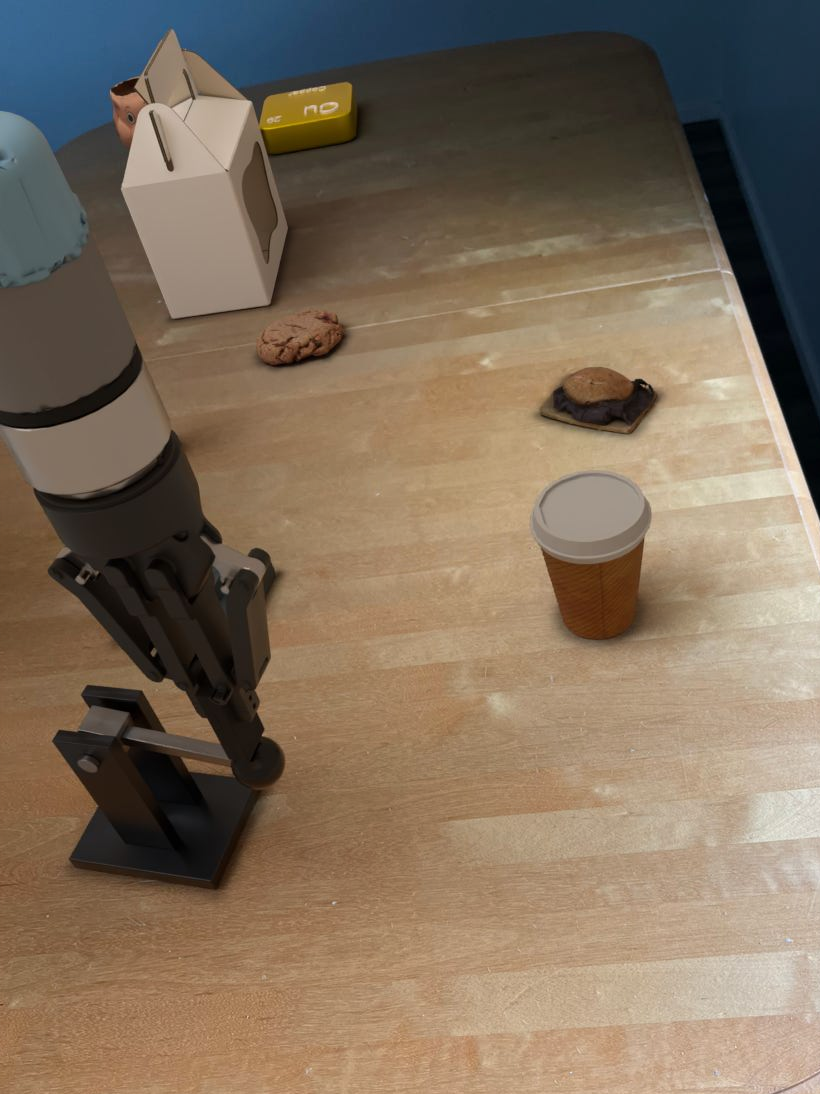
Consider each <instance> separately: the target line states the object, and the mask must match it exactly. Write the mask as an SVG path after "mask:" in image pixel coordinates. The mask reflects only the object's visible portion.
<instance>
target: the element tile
mask: <svg viewBox="0 0 820 1094" xmlns="http://www.w3.org/2000/svg"><path fill="white" fill-rule="evenodd" d="M353 87H354V86H353V85H352V83H350V82H349V81H344V82H337V83H332V84H331V83H330V84H327V85H321V86H315V87H309V88H303V89H300V90H293V91H287V92H281V93H276V94H271V95H268V96H267V97H266V98H265V99H264V101H263V106H262V110H261V115H260V120H259V123H258V124H259V128H260V131H261V135H262V138H263V142H264V145H265V149H266V152H267V155H272V156H273V155H274V156H276V155H282V154H288V153H294V152H300V151H305V150H310V149H311V150H312V149H316V148H322V147H328V146H334V145H339V144H344V143H348V142H351V141H352V140H354V139H355V138H356V136H357V128H358V127H357V123H358V106H357V101H356V97H355V91H354V88H353Z"/></svg>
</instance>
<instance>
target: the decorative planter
mask: <svg viewBox="0 0 820 1094" xmlns="http://www.w3.org/2000/svg"><path fill="white" fill-rule="evenodd" d="M140 76H141V75H139V76H135V77H131V78H128V79H126V80H123V81H121V82H119V83H117V84H115V85H114V86H112V87H110V90H109V98H110V101H111V104H112V106H113V110H112V120H113V124H114V129H115V130H116V134H117V136H118V138H119V139H120V141H121V143H122V144H123V145H124V147H126V148H127V149H128V150H129V151H130V148H131V144H132V139H133V135H134V130H135V126H136V122H137V117H138V114H139V112H140V111H141V109H142V108H143V107H145V106H147V104H146V103H145V101H144V100H143V99H142V98H141V97H140V96H139V94H138V93H137V92H136V91H135V90H134V89H133V88H134V86H135V85H136V83H137V81H138V79H139V78H140Z"/></svg>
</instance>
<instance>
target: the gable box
mask: <svg viewBox="0 0 820 1094" xmlns="http://www.w3.org/2000/svg"><path fill="white" fill-rule="evenodd" d="M139 76H140V78H139V79H138V81H137V83H136V85H135V86H134V88H133V89H134V90H135V91H136V92H137V93H138V94H139V96H140V97H141V98H142V99H143V100H144V101H145V103H146V104H147V106H145V107H143V108H142V109H141V111H140V112H139V114H138V117H137V122H136V126H135V130H134V135H133V139H132V144H131V148H130V150H129V153H128V157H127V162H126V167H125V171H124V175H123V176H124V177H123V180H122V183H121V185H120V190H121V193H122V197H123V199H124V201H125V203H126V206H127V208H128V211H129V214H130V216H131V219H132V221H133V224H134V226H135V229H136V231H137V234H138V236H139V240H140V242H141V244H142V247H143V249H144V252H145V254H146V257H147V259H148V261H149V264H150V267H151V269H152V272H153V275H154V277H155V280H156V282H157V284H158V288H159V289H160V292H161V295H162V297H163V299H164V303H165V306H166V308H167V310H168V313H169V315H170V318H171V319H173V320H178V319H183V318H191V317H198V316H205V315H212V314H213V315H214V314H218V313H225V312H233V311H238V310H239V311H240V310H247V309H253V308H260V307H267V306H270V305H271V303H272V299H273V294H274V290H275V286H276V281H277V276H278V273H279V268H280V263H281V260H282V255H283V250H284V247H285V243H286V238H287V233H288V229H289V226H288V224H287V220H286V216H285V213H284V209H283V205H282V202H281V198H280V195H279V191H278V188H277V184H276V181H275V177H274V173H273V171H272V166H271V162H270V160H269V156H268V153H267V152H266V149H265V145H264V142H263V138H262V135H261V131H260V128H259V124H260V123H259V121H258V117H257V114H256V110H255V107H254V103H253V102H252V101H251V100H250V99H249V98H248V97H246V96H245V94H243V93H242V92H241V91H240V90H239V89H238V88H236V87H235V86H234V85H233V84H232V83H231V82H230V81H229V80H228V79H226V78H225V76H223V75H222V74H221V73H220V72H219V71H218V70H217V69H215V68H214V66H212V64H210V63H209V62H208V61H207V60H205V59H204V57H202V56H201V55H200V54H199V53H198V52H195V51H192V50H188V49H187V48H186V47H183V48H181V45H180V43H179V40H178V36H177V35H176V33H175V30H174V29H172V28H171V29H167V31H166V33H165V34H164V36H163V38H162V39H160V41H159V42H158V44H157V46H156V47H155V49H154V51H153V52H152V55H151V56H150V58H149V59H148V62H147V63H146V66H145V67H144V68H143V71H142V72H141V74H140V75H139ZM199 94H200V95H199Z"/></svg>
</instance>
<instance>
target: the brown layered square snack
mask: <svg viewBox="0 0 820 1094" xmlns="http://www.w3.org/2000/svg"><path fill="white" fill-rule="evenodd" d="M657 397H658V393H657V391H655V390H654V388H653V387H652V385H651V384H650V383H648V382H647V381H646V380H644V379H643V378H635V379H634V380H631V379H630V378H628V377H627V376H625V375H623V373H621V372H618V371H616V370H614V369H611V368H609V367H603V366H590V367H583V368H581V369H579V370H576V371H575V372H573V373H569V374H567V375H566V376H565V377H564V378H563V379H562V380H561V382H560V383H559V384H558V385H557V386H556V388H555V389H554V390H553V391H552V393H551V394H550V395H549V396H548V398H547V399H546V400H545V402H544V403H543V404H542V405H541V406H540V409H539V412H538V414H539V415H541V416H544V417H547V418H551V419H553V420H558V421H561V422H562V423H564V422H565V423H568V424H571V425H576V426H578V427H584V428H592V429H597V430H598V431H599V432H601V431H607V432H613V433H617V434H627V435H629V434H630V433H632V432H633V431H635V430H636V428H637V427H638V426H639V423H640V422H641V421H642V420H643V419H644V417H645V415H646V414H647V412H649V411H650V410H651V406H652V405H653V403H654V401H655V400H656V399H657Z"/></svg>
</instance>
